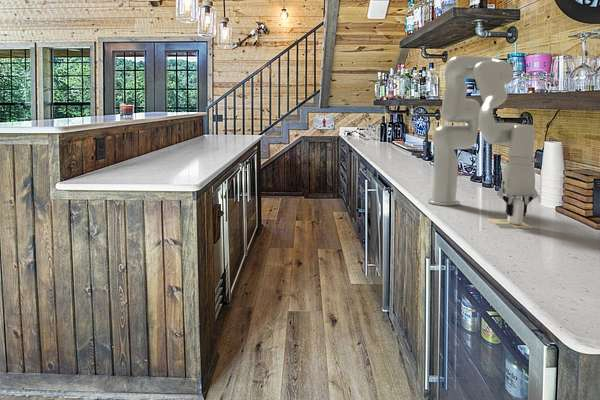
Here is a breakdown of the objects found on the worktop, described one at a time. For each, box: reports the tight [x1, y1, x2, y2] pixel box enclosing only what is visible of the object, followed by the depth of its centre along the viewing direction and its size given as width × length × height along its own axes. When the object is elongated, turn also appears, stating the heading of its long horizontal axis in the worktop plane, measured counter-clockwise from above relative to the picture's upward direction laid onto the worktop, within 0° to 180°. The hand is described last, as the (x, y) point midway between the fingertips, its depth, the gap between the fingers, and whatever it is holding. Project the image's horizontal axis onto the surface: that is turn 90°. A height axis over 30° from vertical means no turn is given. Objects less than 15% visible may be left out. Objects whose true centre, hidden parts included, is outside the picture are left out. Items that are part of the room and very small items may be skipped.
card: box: [486, 218, 534, 230], centre depth 205 cm, size 14×11×1 cm
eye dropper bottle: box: [507, 195, 524, 225], centre depth 202 cm, size 4×6×12 cm
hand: (515, 215), depth 203 cm, fingers closed on eye dropper bottle, 3 cm apart
